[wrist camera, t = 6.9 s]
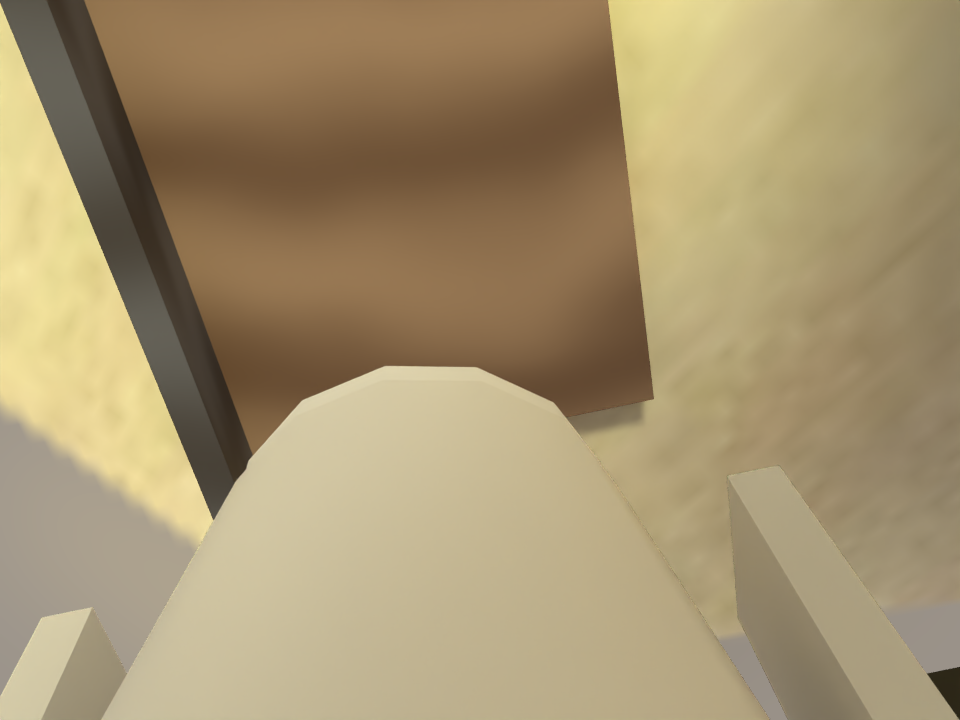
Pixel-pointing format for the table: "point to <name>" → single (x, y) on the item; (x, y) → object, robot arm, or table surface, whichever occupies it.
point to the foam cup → (429, 575)
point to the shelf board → (348, 197)
